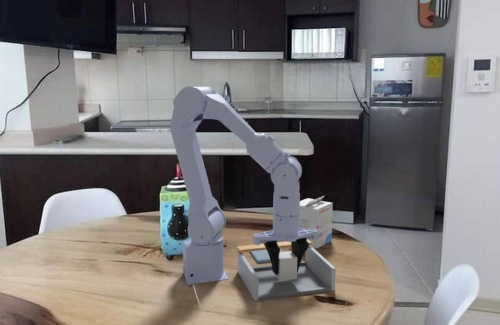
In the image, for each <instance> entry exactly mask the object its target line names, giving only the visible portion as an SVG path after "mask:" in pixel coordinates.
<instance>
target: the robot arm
mask: <svg viewBox="0 0 500 325" xmlns="http://www.w3.org/2000/svg"><path fill="white" fill-rule="evenodd" d="M172 104H173V110H172V116H171V119H170V120H171V121H170V125H169V129H170V130H169V131H170V133H171V137H172V141H173V144H174V145H173V146H174V148H175V152H176V156H177V160H178V163H179V164H178V165H179V167H180V170H181V174H182V178H183V182H184V186H185V189H186V193H187V197H188V200H189V201H188V202H189V207H188V210H187V220H188V226H187V234H188V236H189V239H190V240H187V241H184V242H182V260H183V263H182V273H183V275H184V279H185V282H186V285H187V286H192V285H195V284H200V283H201V284H202V283H210V282H218V281H227V280H229V277H228V275H227V272H226V271H225V269H224V267H225V266H224V265H225V264H224V263H225V262H224V261H225V260H224V256H225V255H224V236H223V233H222V230H223V229H224V228H225V226H226V225H227V224H226V223H227V218H226V214H225V213H224V211H223V210H222V209H221V208H220V205H219V203H218V202H219V201H218V200H217V199H216V198H215V197H214V196H213V194H212V191H211V186H210V183H209V182H210V181H209V178H208V175H207V171H206V168H205V164H204V159H203V156H202V152H201V148H200V144H199V140H198V137H197V131H196V130H197V129H198V127H199V125H200V124H201V122H202V121H203V119H204V118H206V119H211V120H217V121H219V122H220V123H222V124H223V125H224V126H225V127H226V128H227V129H228V130H230V132H232V134H234V135H235V136H236V137H237V138H239V139H240V140H241V141H242V142H243V144H245V145H246V153H247V154H248V155H249V157H250V158H252V159H253V160H254V161H255V163H258V165H260V167H261V168H263V170H265V171H266V173H268V174H270V180H271V182H272V183H273V187H274V188H273V190H274V191H273V195H272V196H273V201H272V202H273V205H272V207H273V208H272V209H273V210H272V211H273V214H272V229H271V230H268V231H263V232H259V233H253V235H252V243H253V245H260V244H264V245H265V247H266V249H267V252H268V254H269V257H270V260H271V262H270V265H272V270H273V273H274V274H275V275H278V273H279V253H280V248H279V247H278V244H277V242H285V241H287V242H291V244H292V247H291V252H292V253H293V254H294V255H295V256H296V257H297V272H298V269H299V266H300V263H301V262H302V260H303V257H304V255H305V254H306V250H307V249H308V247H309V243H308V242H307V239H313V240H317V239H318V231H317V230H316V229H299V211H300V201H301V199H300V198H301V194H300V188H301V187H300V180H299V179H300V178H301V177H302V173H303V169H302V168H303V167H302V165H301V163H300V162H299V161H298V159H297V158H296V157H294V156H291V154H290V152H288V151H286V152H285V151H284V150H283V149H282V148H281V147H280V146H279V145H277V143H276V142H275V141H274V140H276V139H275V137H274V136H273V135H271V134H270V135H269V136H268V134H266V133H265V132H262V133H259V132H256V131H255V130H254V129H253V128H252V127H251V125H250V124H249V123H247V121H246V120H245V119H243V117H242V116H241V115H240V114H239V113H238V112H237V111H236V110H235V109H234V108H233V107H232V106H231V105H230V103H228V101H226V100H225V98H224V97H223V96H222V95H221V94H219V93H217V92H216V91H215V90H214V88H212V87H211V86H208V85H201V86H200V85H199V86H192V85H191V86H190V85H188V86H185V87H183V88H182V89H180V90H179V92H178V93H177V94H176V96H175V98H173V100H172Z"/></svg>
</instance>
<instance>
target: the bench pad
mask: <svg viewBox="0 0 500 325" xmlns="http://www.w3.org/2000/svg"><path fill="white" fill-rule="evenodd" d="M249 252H250V254H251V256H252V257H253V258H254V260H255V261H256V262H257V264H264V263H271V260H270V257H269V254H268V252H267V250H259V251H249ZM280 252H284V251H283V250H282V248H280Z"/></svg>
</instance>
